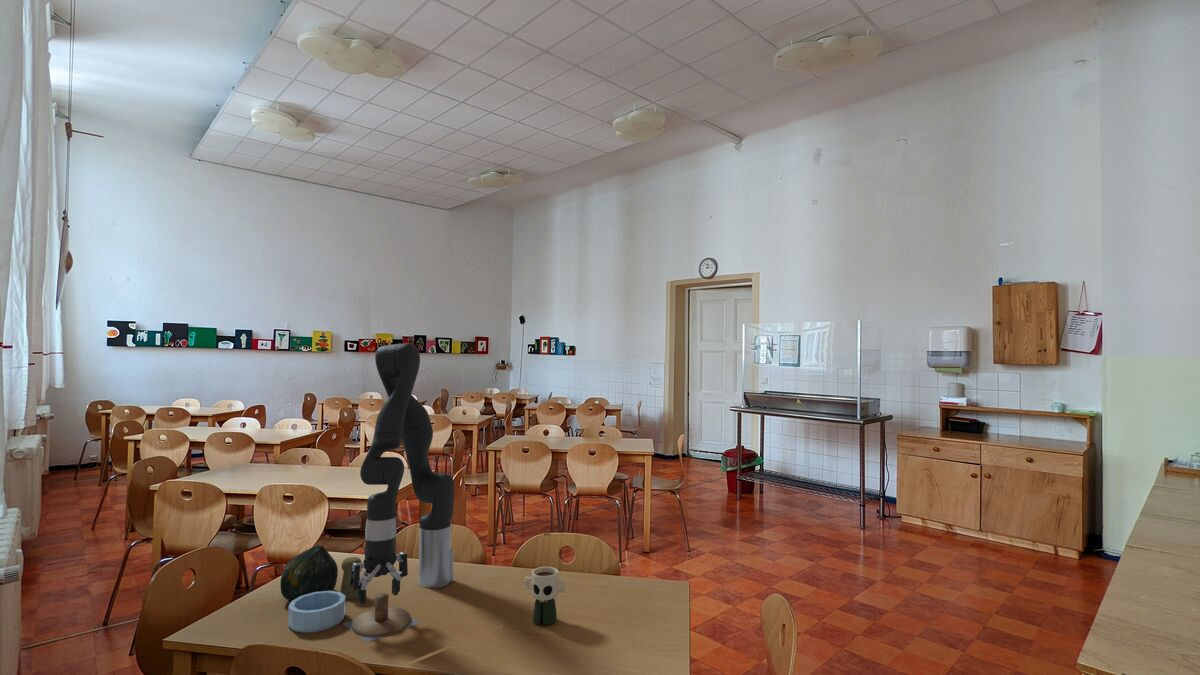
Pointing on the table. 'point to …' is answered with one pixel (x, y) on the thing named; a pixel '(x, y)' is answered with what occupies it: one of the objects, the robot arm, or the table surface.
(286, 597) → the squash
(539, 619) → the character mug
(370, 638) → the mat
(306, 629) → the bowl
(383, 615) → the lid
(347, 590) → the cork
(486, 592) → the table surface
